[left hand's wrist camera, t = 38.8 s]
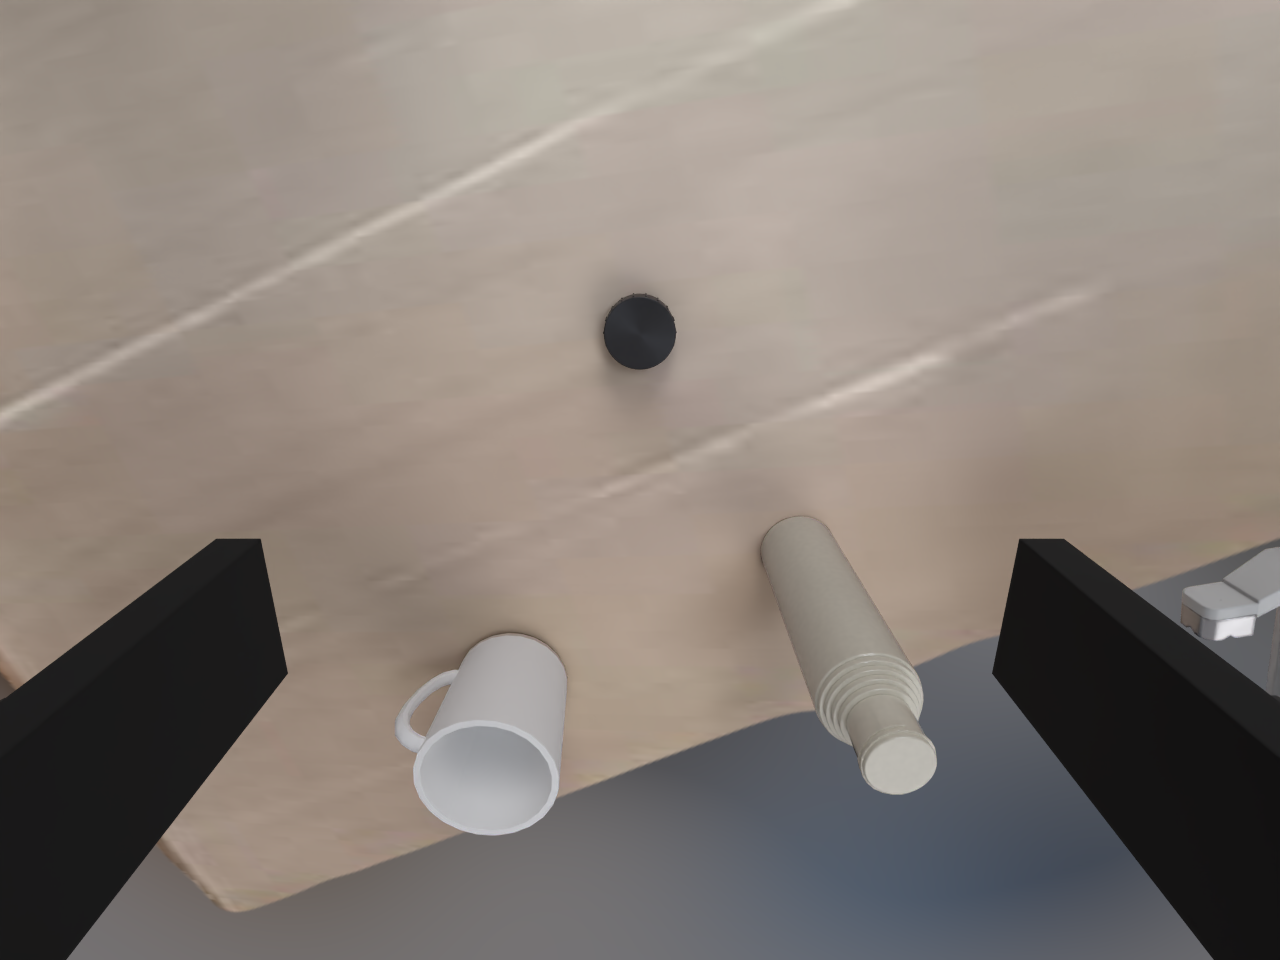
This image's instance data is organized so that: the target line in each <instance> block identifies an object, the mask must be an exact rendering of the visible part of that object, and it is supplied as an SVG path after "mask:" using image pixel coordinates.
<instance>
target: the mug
mask: <svg viewBox="0 0 1280 960" xmlns="http://www.w3.org/2000/svg"><path fill="white" fill-rule="evenodd" d="M446 685H451V686H450V688H449V690H448V692H447V694H446V696H445V698H444V700H443V702H442V704H441V706H440V708H439V710H438V712H437V714H436V716H435V718H434V720H433V722H432V724H431V726H430V728H429V730H428V733H427V735H426V737H425V736H421V735H419V734H418V733H416V732H415V731H413V729H412V727H411V726H410V718H411V716H412V714H413V712H414V710H415V709H416V708H417V707H418V706H419V705H420V703H421V702H422V701H424V700H425V699H426V698H427V697H428V696H429V695H430V694H431V693H433V692H434V691H436V690H438V689H439V688H441V687H443V686H446ZM566 693H567V674H566V670H565V666H564V664H563V663H562V661H561V659H560V658H559V656H558V654H557V653H556V652H554V651H553V650H552V649H551V648H550V647H549V646H548V645H547V644H545V643H544V642H542V641H540V640H538V639H536V638H534V637H531V636H527V635H524V634H517V633H505V634H499V635H493V636H491V637H489V638H486V639H484V640H482V641H480V642H479V643H477V644H476V645H475V646H474V647H472V648H471V649H470V650H469V652H468V653H467V655H466V656H465V657H464V659H463V661H462V663H461V665H460V667H459V669H458V670H451V671H447V672H443V673H441V674H439V675H437V676H436V677H434V678H432V679H430V680H429V681H428V682H427V683H425V684H424V685H423V686H422V687H420V688H419V689H418V690H417V691H416V692H415V693H414V694H413V695H412V696H411V697H410V699H409V700H408V701H407V702H406V703H405V704H404V706H403V707H402V709H401V711H400V712H399V714H398V716H397V718H396V720H395V736H396V737H397V739H398V740H399V742H400V743H401V744H402V745H403V746H404V747H406V748H407V749H409V750H411V751H412V752H416V753H418V754H417V757H416V760H415V764H414V767H413V773H414V784H415V787H416V790H417V792H418V795H419V797H420V799H421V800H422V802H423V803H424V804H425V806H426V807H427V808H428V809H429V811H430V812H432V813H433V814H434V815H435V816H437V817H438V818H439V819H440V820H442V821H443V822H445V823H447V824H449V825H451V826H453V827H455V828H457V829H459V830H462V831H466V832H470V833H474V834H479V835H501V834H508V833H514V832H517V831H519V830H522V829H524V828H527V827H529V826H531V825H532V824H534V823H535V822H537V821H538V820H540V819H541V818H543V817H544V815H545V814H546V813H547V812H548V810H549V809H550V808H551V807H552V805H553V803H554V801H555V798H556V796H557V793H558V790H559V779H560V767H561V755H562V742H563V730H564V718H565V705H566Z"/></svg>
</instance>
